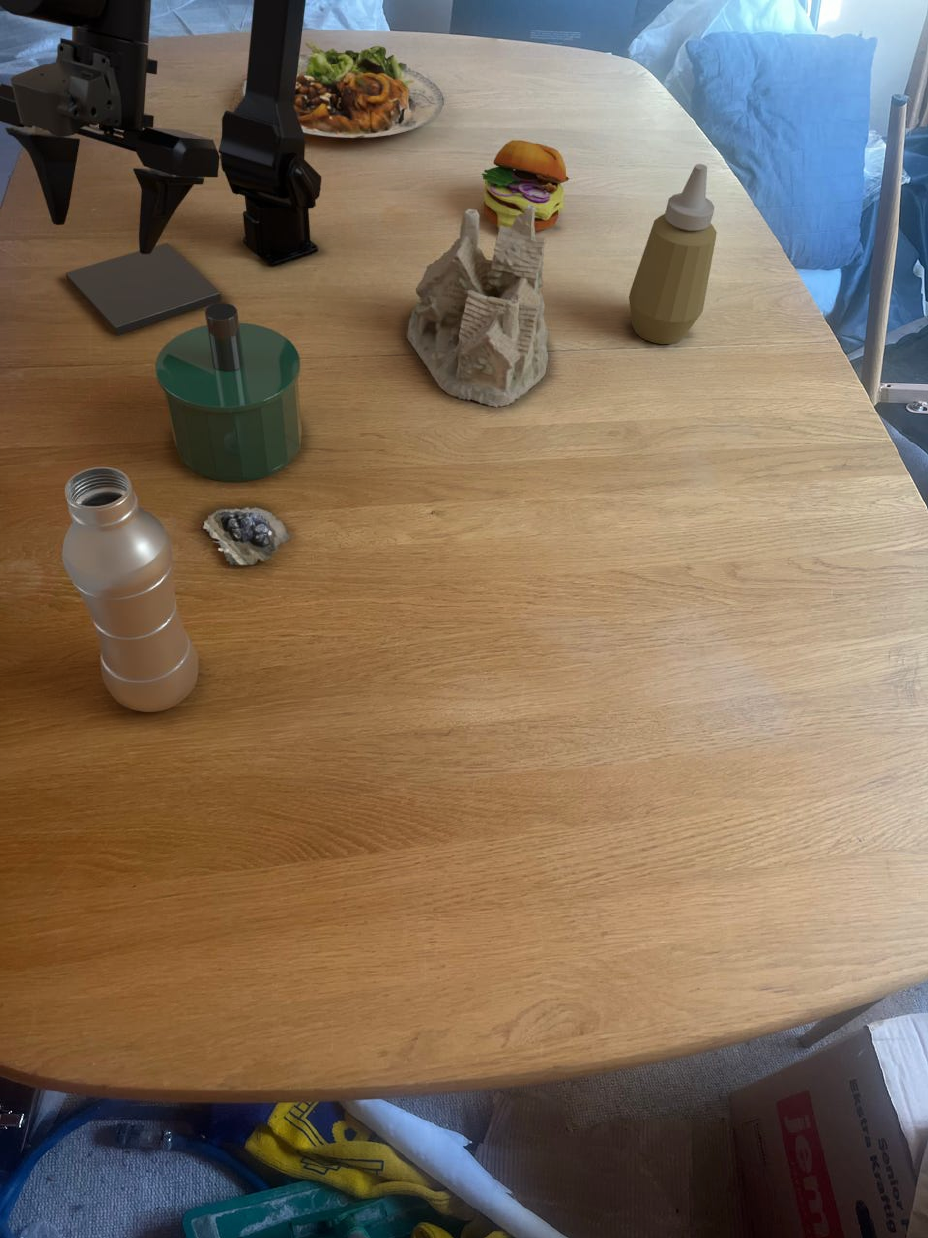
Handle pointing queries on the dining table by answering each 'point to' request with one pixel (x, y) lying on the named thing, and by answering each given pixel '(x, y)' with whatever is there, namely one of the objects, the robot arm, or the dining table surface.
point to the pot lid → (227, 364)
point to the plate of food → (361, 94)
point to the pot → (238, 438)
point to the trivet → (142, 288)
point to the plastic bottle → (128, 591)
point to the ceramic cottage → (484, 314)
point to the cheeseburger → (525, 184)
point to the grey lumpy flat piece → (246, 534)
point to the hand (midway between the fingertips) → (101, 238)
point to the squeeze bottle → (675, 265)
